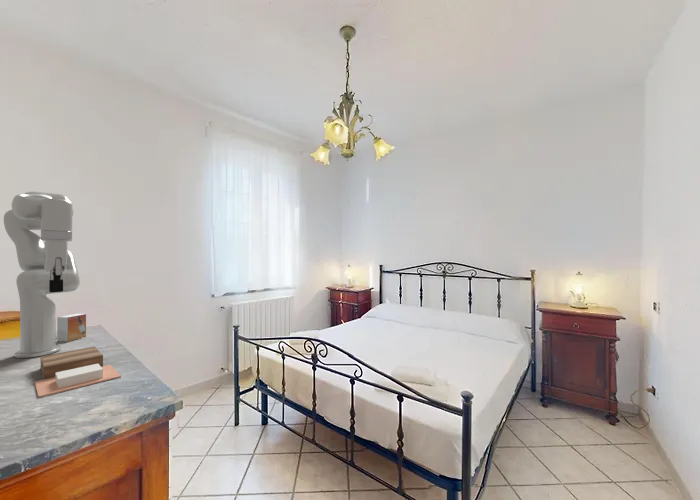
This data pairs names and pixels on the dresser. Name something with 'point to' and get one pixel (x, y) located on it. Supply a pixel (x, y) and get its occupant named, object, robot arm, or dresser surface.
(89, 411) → the dresser surface
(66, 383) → the tile
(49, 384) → the mat
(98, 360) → the block
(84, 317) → the small box
